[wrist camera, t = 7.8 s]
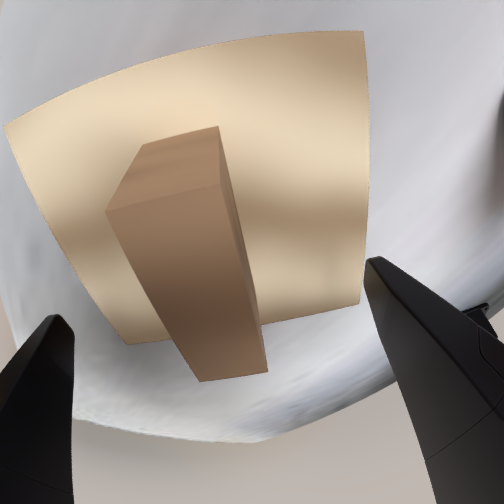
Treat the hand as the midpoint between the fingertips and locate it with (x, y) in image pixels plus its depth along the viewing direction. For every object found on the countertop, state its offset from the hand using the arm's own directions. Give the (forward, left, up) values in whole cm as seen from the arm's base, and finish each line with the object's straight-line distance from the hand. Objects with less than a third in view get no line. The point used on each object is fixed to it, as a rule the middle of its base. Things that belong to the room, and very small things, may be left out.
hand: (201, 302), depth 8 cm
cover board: (0, 0, -4) cm, 4 cm away
